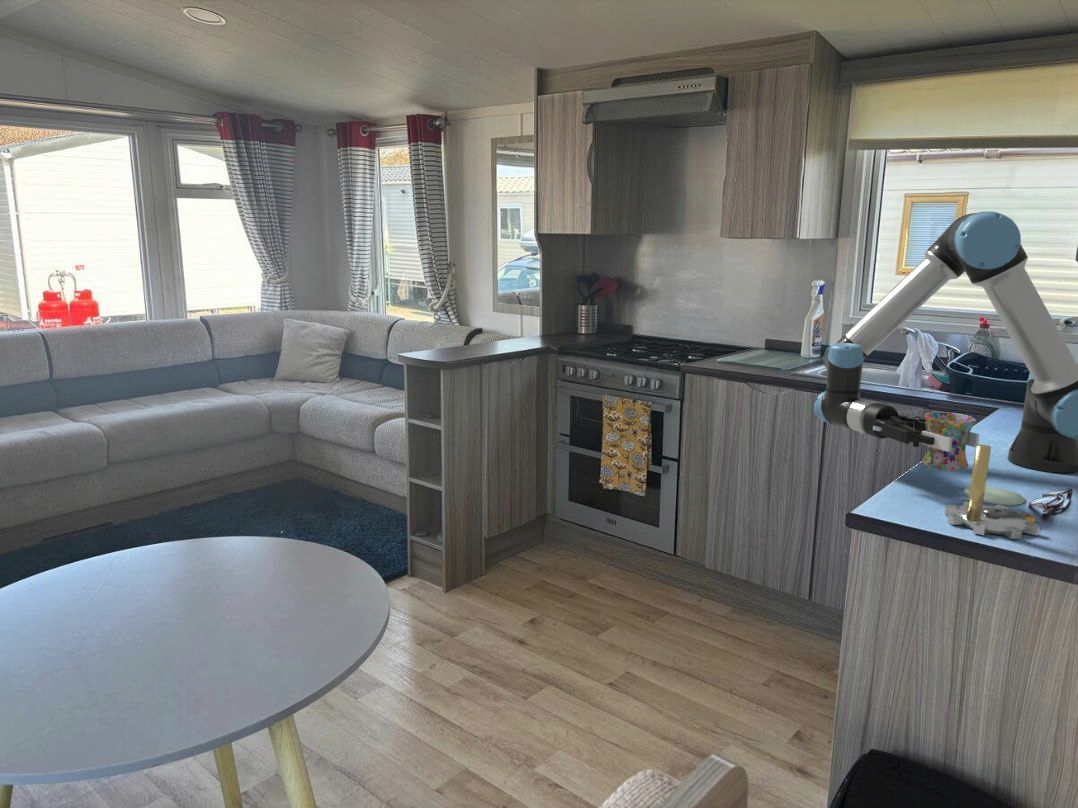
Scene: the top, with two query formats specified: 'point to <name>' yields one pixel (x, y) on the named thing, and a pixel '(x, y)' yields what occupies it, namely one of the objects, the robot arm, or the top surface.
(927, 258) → the robot arm
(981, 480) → the sprocket
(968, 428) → the mug
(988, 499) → the pale green plate
